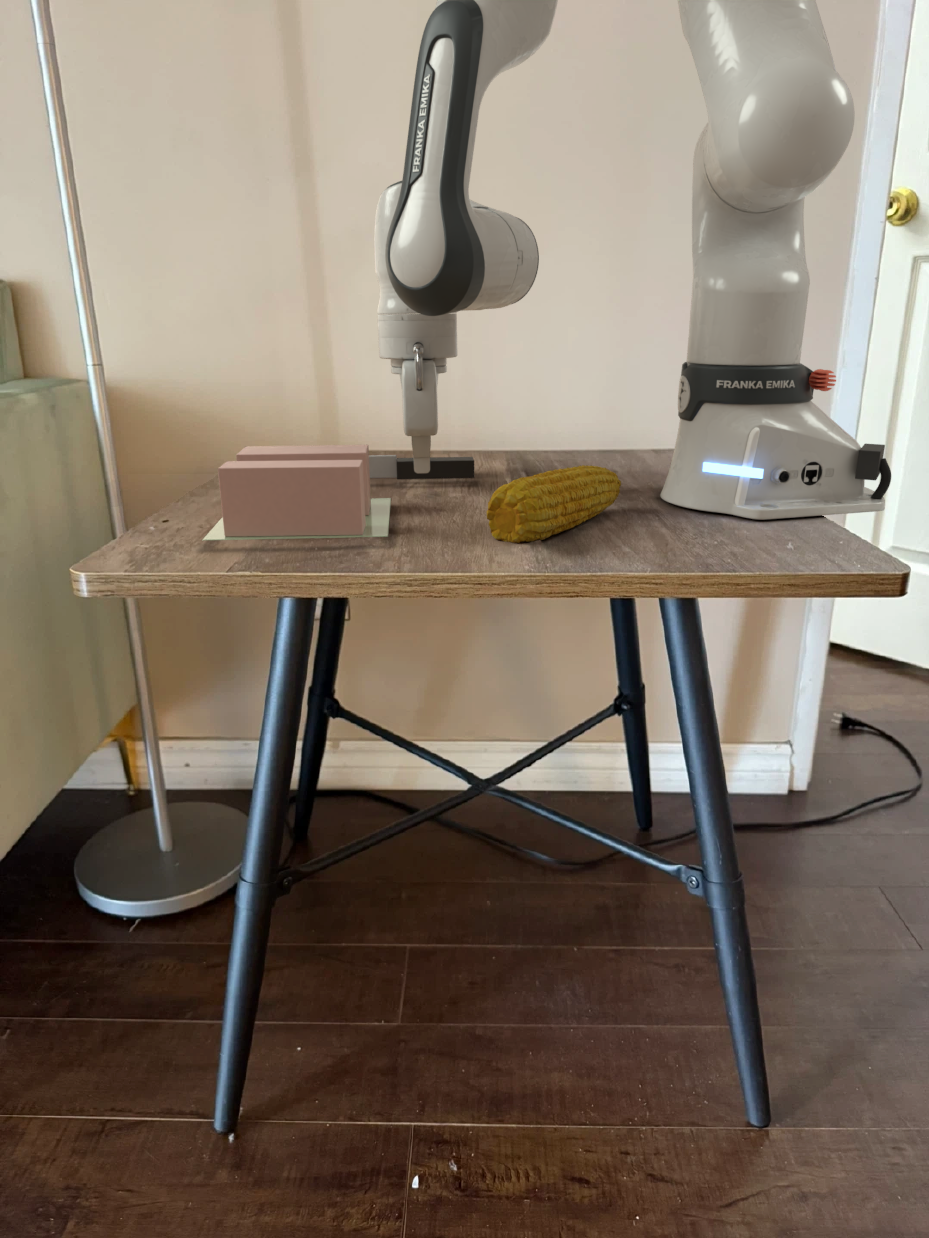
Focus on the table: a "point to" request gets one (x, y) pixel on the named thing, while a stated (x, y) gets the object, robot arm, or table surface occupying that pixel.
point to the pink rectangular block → (313, 457)
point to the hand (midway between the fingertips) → (421, 465)
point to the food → (550, 502)
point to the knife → (405, 470)
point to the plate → (374, 528)
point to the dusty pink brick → (292, 498)
